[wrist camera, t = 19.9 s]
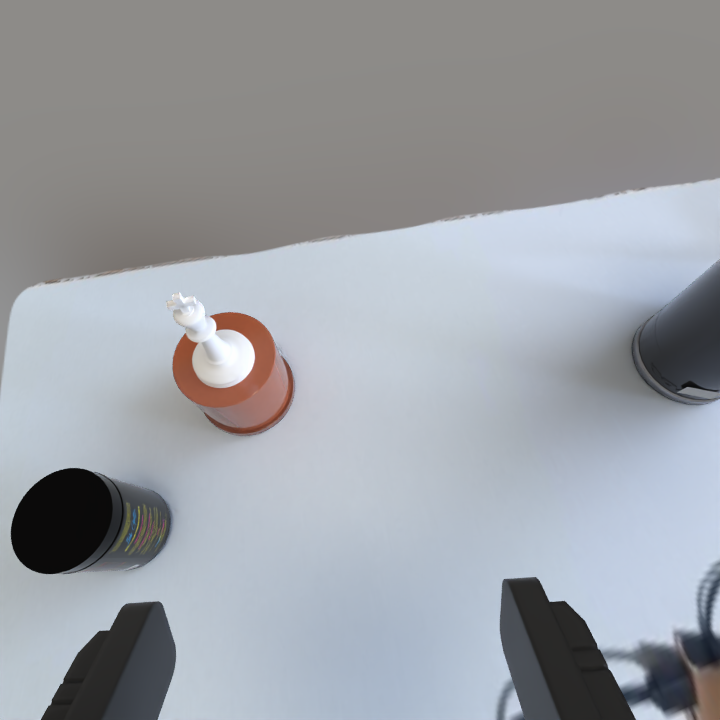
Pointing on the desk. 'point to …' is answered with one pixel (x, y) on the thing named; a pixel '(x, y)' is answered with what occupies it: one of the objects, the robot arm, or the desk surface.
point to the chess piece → (213, 345)
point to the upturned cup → (250, 396)
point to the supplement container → (88, 524)
